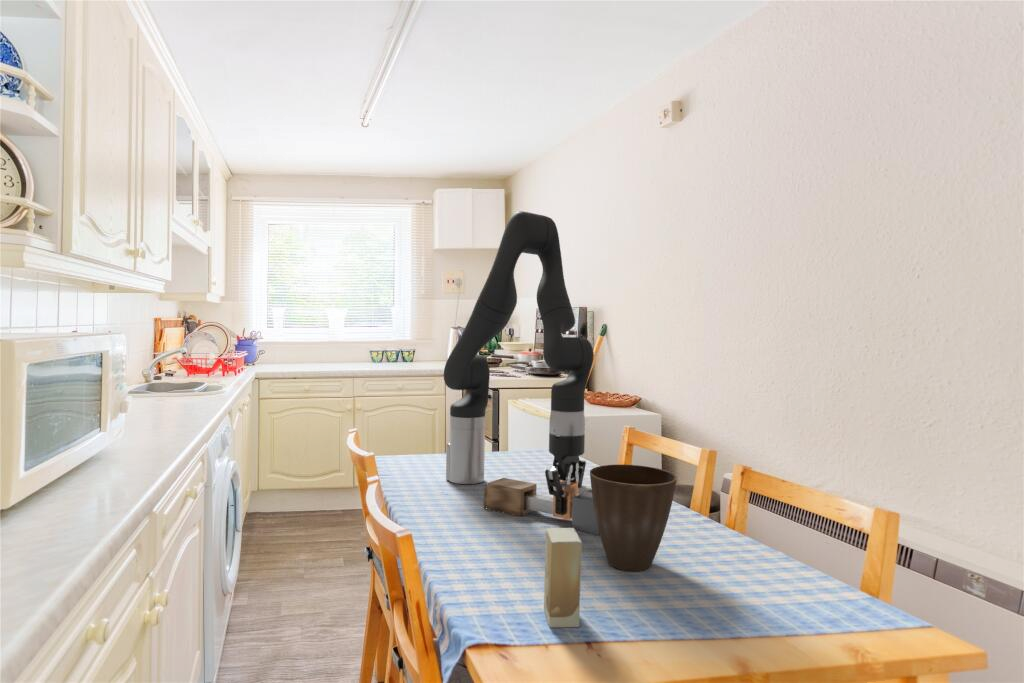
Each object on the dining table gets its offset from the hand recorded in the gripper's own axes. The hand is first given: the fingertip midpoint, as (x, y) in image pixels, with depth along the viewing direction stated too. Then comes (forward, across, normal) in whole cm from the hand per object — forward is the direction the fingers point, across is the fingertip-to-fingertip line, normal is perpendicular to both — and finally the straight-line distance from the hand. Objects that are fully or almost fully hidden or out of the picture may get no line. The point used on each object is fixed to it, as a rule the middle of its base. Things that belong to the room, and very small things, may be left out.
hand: (565, 511), depth 141 cm
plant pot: (+2, +15, +22) cm, 26 cm away
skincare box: (+2, +41, +23) cm, 47 cm away
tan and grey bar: (+1, 0, -3) cm, 3 cm away
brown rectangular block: (+2, 0, -14) cm, 14 cm away
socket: (+2, 0, +8) cm, 8 cm away
